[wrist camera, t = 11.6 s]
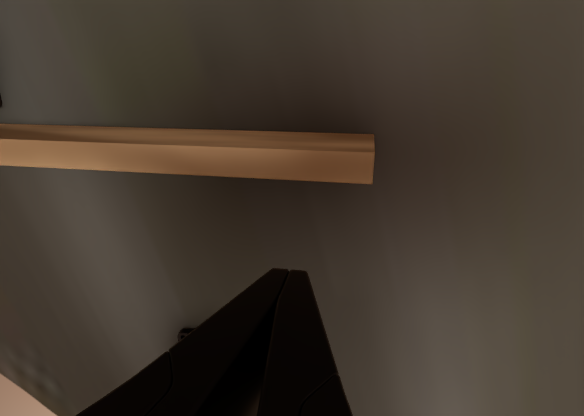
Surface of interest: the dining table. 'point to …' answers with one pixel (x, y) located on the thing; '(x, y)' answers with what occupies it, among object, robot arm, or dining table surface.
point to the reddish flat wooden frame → (192, 152)
